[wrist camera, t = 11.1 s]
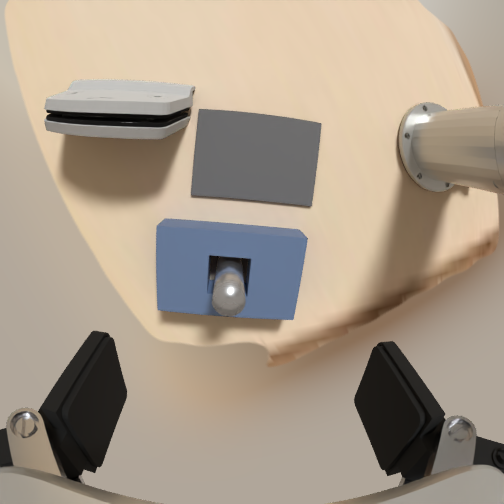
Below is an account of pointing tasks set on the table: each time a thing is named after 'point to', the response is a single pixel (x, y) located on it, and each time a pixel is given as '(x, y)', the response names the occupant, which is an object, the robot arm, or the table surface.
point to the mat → (255, 157)
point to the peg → (229, 287)
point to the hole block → (229, 245)
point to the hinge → (119, 109)
